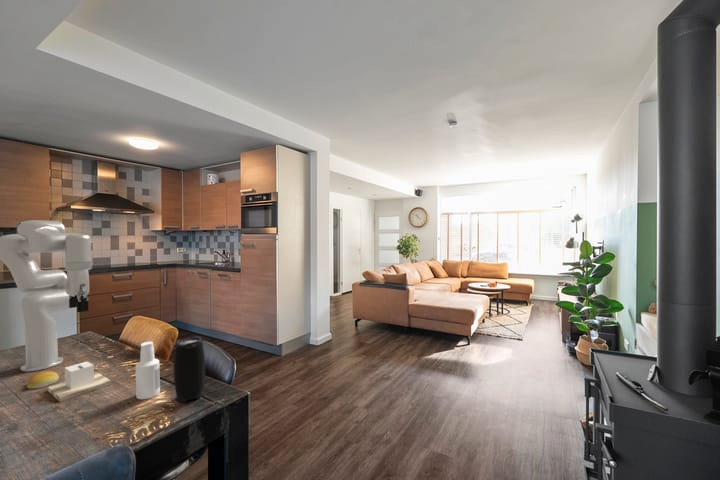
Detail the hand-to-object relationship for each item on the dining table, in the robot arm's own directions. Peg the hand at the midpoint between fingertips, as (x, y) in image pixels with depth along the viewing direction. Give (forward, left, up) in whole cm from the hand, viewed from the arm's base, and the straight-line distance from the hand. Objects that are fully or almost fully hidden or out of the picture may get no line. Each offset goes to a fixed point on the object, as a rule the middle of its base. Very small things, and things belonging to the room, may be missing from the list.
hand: (78, 309), depth 121 cm
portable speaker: (+53, +15, -27) cm, 61 cm away
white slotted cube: (+12, -3, -25) cm, 28 cm away
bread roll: (-5, -10, -27) cm, 29 cm away
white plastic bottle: (+39, +8, -27) cm, 48 cm away
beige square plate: (+12, -3, -27) cm, 29 cm away
